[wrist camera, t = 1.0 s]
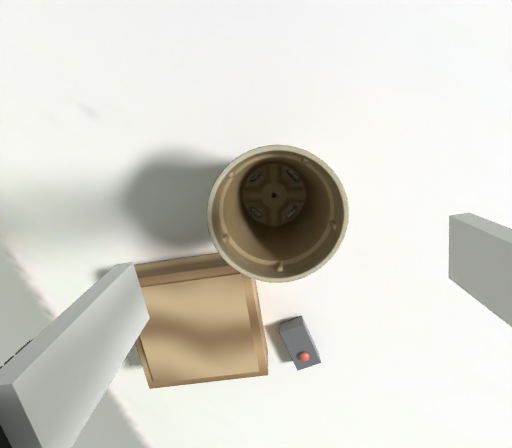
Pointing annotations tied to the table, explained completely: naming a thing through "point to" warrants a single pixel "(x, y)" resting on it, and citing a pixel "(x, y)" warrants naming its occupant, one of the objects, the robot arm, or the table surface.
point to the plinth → (199, 322)
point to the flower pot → (277, 213)
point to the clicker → (299, 343)
